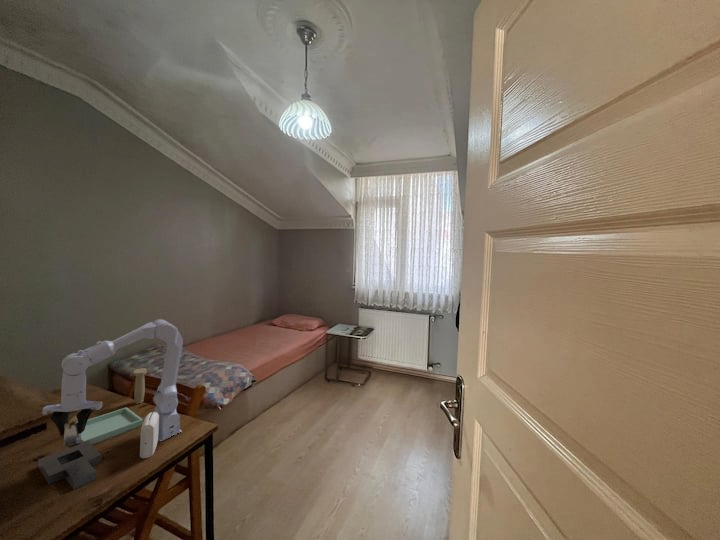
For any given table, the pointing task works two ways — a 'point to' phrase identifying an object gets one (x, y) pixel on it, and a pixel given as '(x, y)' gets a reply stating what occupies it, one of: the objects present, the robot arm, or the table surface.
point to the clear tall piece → (71, 432)
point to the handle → (139, 385)
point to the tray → (110, 425)
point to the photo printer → (149, 435)
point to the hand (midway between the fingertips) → (72, 432)
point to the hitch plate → (71, 465)
